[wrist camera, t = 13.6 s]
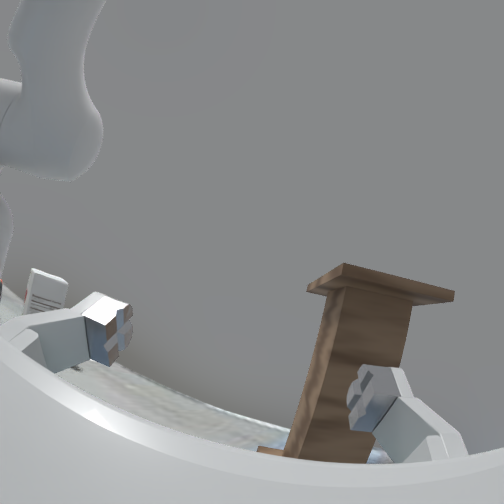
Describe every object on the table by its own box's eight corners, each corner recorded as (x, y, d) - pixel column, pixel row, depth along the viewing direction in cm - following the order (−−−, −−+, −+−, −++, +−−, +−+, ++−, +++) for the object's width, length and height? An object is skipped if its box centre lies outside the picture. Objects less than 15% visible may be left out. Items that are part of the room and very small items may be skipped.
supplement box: (19, 326, 50) (31, 266, 53) (50, 334, 56) (62, 277, 59) (21, 338, 44) (34, 271, 47) (57, 347, 51) (69, 283, 53)
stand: (382, 523, 17) (461, 292, 22) (253, 520, 18) (332, 259, 23) (343, 460, 35) (388, 303, 40) (256, 448, 36) (301, 283, 41)
